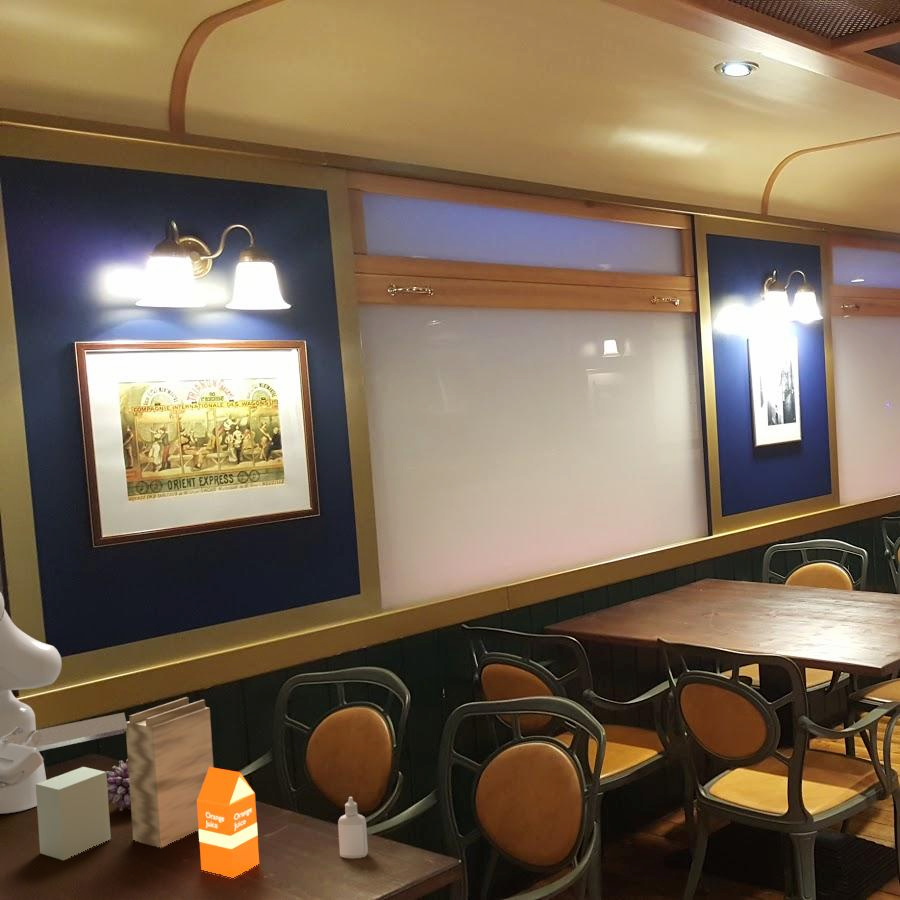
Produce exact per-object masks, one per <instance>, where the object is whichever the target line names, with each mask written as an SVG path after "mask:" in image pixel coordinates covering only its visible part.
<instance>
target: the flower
mask: <svg viewBox="0 0 900 900" xmlns="http://www.w3.org/2000/svg"><path fill="white" fill-rule="evenodd" d="M118 763H119V765H118V766H116V765H113V766H112V767H111V768H112V770H113V771H109V770H107V771H106V774H107V777H108V778H107V789H108V793H109V794H108V804H110V803H111V804H112V805H116V807H118V806H119V811H120V812H123V810H124V808H125V807H126V806H127V809H128V810H129V809H130V810H131V799H130V784H129V769H128V758H127V759H126V760H125V762H124V761H123V760H119V761H118Z"/></svg>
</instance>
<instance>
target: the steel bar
mask: <svg viewBox="0 0 900 900" xmlns="http://www.w3.org/2000/svg"><path fill="white" fill-rule="evenodd" d="M126 722H127V719H126V715H125V712H121V713H115V714H109V715H106V716H100V717H99V716H98V717H96V718H89V719H85V720H82V721H75V722H71V723H64V724H60V725H57V726H56V725H54V726H50V727H45V728H40V729H36V730H35V731H39V732H40V734H41V735H42V737H41V738H40V739H39V740H38V741H37V742H36V745H35V748H36V749H37V750H38V751H40V752H42V751H46V750H50V749H56V748H60V747H64V746H70V745H74V744H78V743H83V742H88V741H93V740H99V739H103V738H107V737H108V738H109V737H111V736H112V737H113V736H116V735H121V734H125V733H126V730H127V723H126ZM31 732H32V731H30V732H25V733H20V734H15V735H10V736H6V739H5V741H4V742H7V743H13V744H18V745H22V744H23V743H24V742H27V740H28V738H29V737H28V735H29V734H30V733H31Z"/></svg>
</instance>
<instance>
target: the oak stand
mask: <svg viewBox="0 0 900 900" xmlns="http://www.w3.org/2000/svg"><path fill="white" fill-rule="evenodd" d="M189 700H190V699H189V697H187V696H185V697H182V698H179V699H176V700H174V701H170V702H167V703H164V704H160V705H157V706H155V707H152V708H148V709H145V710H143V711H139V712H136V713H134V714H131V715H128V717H129V718H128V719H129V721H126V723H127V730H126V731H125V737H126V748H127V749H126V750H127V759H128V769H129V784H130V799H131V809H130V810H131V811H130V813H131V825H132V826H131V827H132V840H135V841H134V842H137V841H138V843H141V844H145V845H148V846H152V847H155V846H156V848H159V847H160V848H159V849H162V848H165V847H166V846H168V844H169V845H170V843H171V844H172V842H173V843H175V842H177V841H179V840H181V839H183V838H185V836H186V837H187V835H188V836H190V835H192V834H194V833H196V832H199V824H198V808H197V799H198V797H199V794H200V792H201V789H202V786H203V783H204V781H205V778H206V775H207V772H208V770H209V767H212V768H214V756H213V754H214V753H213V740H212V727H211V726H212V723H211V722H212V721H211V710H210V709H211V708H210V707H207V706H206V699H200V700H197V701H193V702H192V703H190V702H189ZM195 831H196V832H195ZM193 832H194V833H193ZM191 833H192V834H191ZM189 834H190V835H189ZM180 838H181V839H180ZM176 840H177V841H176ZM174 841H175V842H174ZM161 847H162V848H161Z"/></svg>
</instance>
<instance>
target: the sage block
mask: <svg viewBox="0 0 900 900" xmlns="http://www.w3.org/2000/svg"><path fill="white" fill-rule="evenodd" d="M106 773H107V771H103V770H99V769H95V768H90V767H86V766H81V767H79V768H76V769H73V770H70V771H68V772H65V773H63V774H60V775H57V776H54V777H51V778H49V779H46V780H45V781H42V782H40V783H37V784H36V798H37V806H36V811H37V824H38V839H39V840H38V841H39V853H40V854H41V855H45V856H48V857H52V858H55V859H58V860H60V861H65V860H68V859H71V858H72V857H74V855H75V856H77V855H79V854H81V852H82V853H83V851H84V852H86V851H88V850H90V849H89V848H91V849H93V848H94V847H93V846H95V847H97V846H100V845H102V844H104V843H106V842H105V841H107V842H108V840H109V841H111V840H112V837H111V836H112V835H111V834H112V833H111V822H110V809H109V804H110V803H109V804H108V799H109V797H108V795H109V794H108V793H109V792H108V789H107V785H108V783H107V779H108V778H107V777H108V775H107V774H106ZM110 839H111V840H110ZM103 842H104V843H103ZM101 843H102V844H101ZM99 844H100V845H99ZM96 845H97V846H96ZM92 847H93V848H92ZM87 849H88V850H87ZM85 850H86V851H85ZM78 853H79V854H78ZM71 856H72V857H71Z"/></svg>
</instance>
